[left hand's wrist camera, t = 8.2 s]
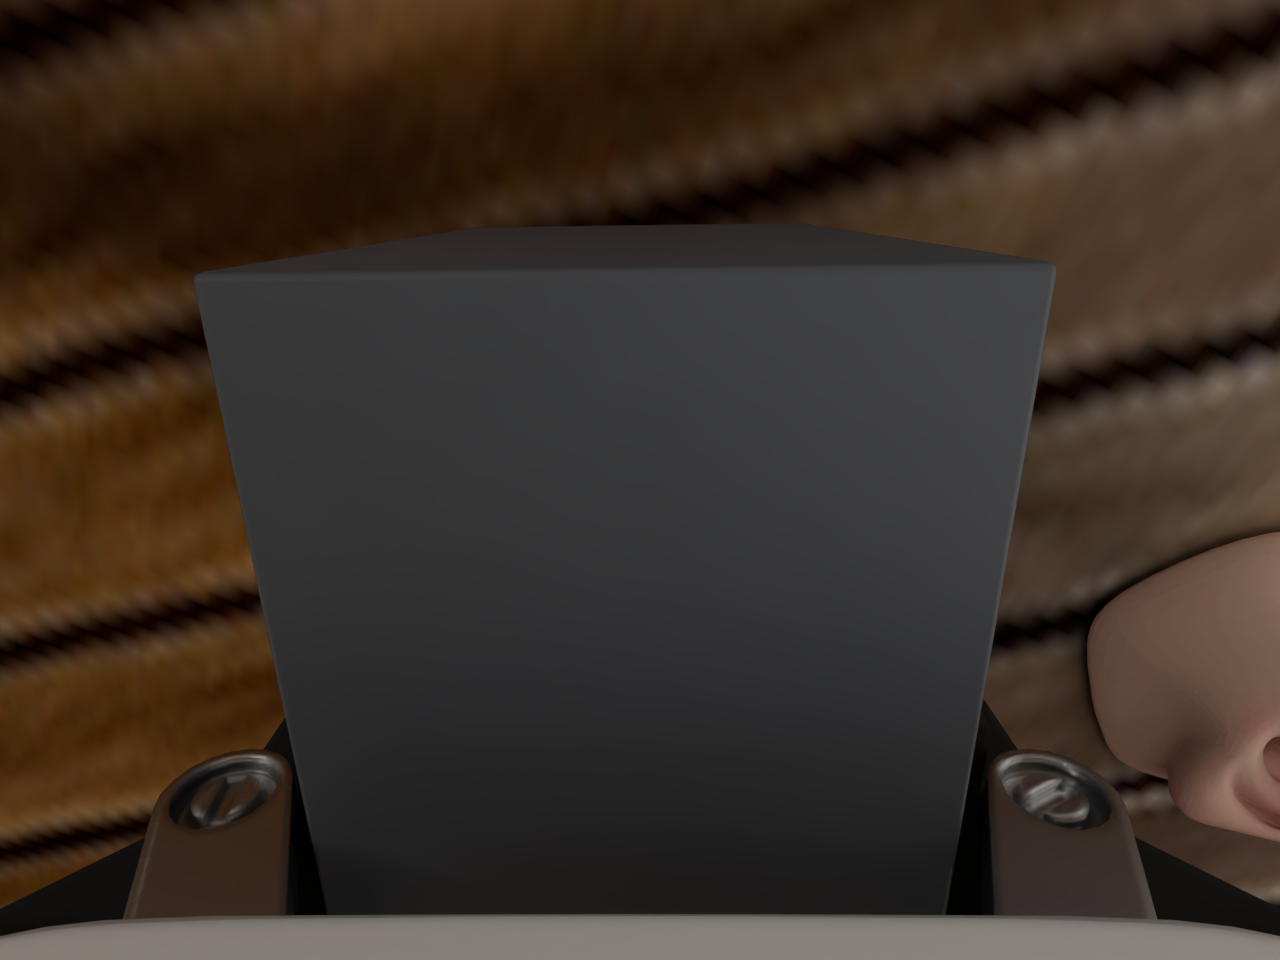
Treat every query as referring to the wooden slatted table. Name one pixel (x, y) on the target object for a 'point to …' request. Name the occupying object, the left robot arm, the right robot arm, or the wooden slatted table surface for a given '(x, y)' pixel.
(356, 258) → the beam
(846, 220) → the wooden slatted table surface
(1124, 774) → the wooden slatted table surface
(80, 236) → the wooden slatted table surface
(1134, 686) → the anatomical model
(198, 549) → the wooden slatted table surface
